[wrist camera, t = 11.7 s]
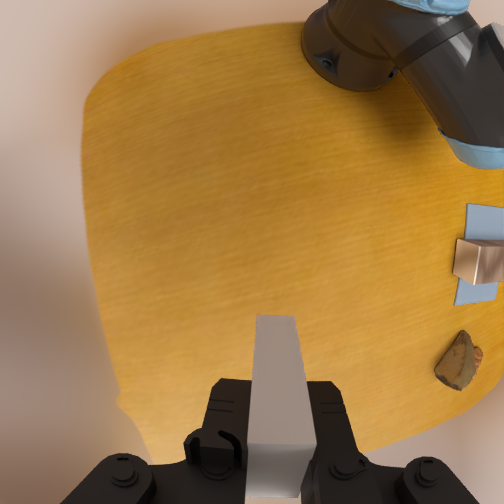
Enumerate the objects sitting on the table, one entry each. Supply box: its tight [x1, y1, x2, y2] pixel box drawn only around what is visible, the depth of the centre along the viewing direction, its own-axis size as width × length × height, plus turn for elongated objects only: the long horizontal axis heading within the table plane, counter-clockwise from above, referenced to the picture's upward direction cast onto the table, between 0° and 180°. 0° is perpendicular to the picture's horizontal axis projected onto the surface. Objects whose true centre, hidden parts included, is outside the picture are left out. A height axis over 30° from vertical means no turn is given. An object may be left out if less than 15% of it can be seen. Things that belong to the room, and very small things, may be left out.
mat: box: [454, 204, 504, 306], centre depth 41 cm, size 18×12×1 cm, turn 1°
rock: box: [435, 330, 476, 391], centre depth 43 cm, size 11×9×10 cm
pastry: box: [463, 347, 483, 389], centre depth 45 cm, size 9×7×4 cm
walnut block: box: [453, 239, 504, 285], centre depth 38 cm, size 6×6×14 cm
